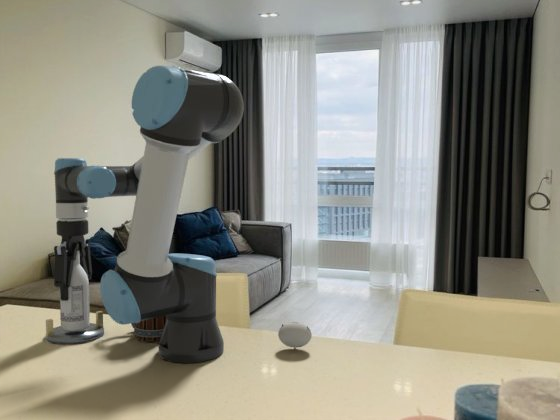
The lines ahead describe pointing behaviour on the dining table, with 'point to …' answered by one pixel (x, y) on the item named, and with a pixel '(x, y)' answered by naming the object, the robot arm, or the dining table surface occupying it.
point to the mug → (149, 329)
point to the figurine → (294, 334)
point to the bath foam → (77, 300)
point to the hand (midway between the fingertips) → (74, 308)
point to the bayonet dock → (75, 332)
